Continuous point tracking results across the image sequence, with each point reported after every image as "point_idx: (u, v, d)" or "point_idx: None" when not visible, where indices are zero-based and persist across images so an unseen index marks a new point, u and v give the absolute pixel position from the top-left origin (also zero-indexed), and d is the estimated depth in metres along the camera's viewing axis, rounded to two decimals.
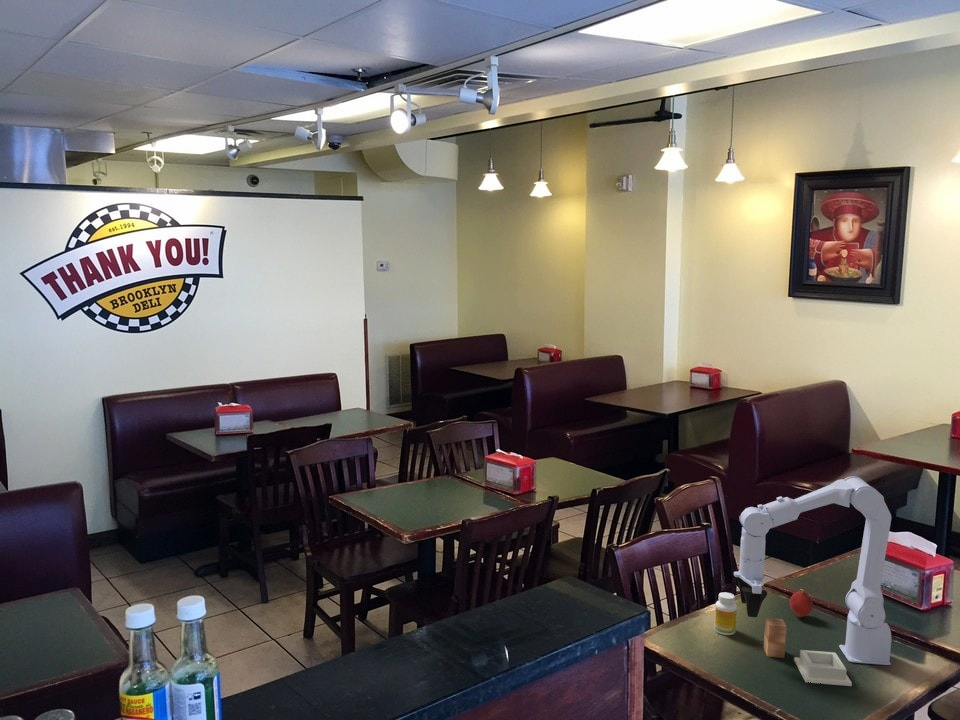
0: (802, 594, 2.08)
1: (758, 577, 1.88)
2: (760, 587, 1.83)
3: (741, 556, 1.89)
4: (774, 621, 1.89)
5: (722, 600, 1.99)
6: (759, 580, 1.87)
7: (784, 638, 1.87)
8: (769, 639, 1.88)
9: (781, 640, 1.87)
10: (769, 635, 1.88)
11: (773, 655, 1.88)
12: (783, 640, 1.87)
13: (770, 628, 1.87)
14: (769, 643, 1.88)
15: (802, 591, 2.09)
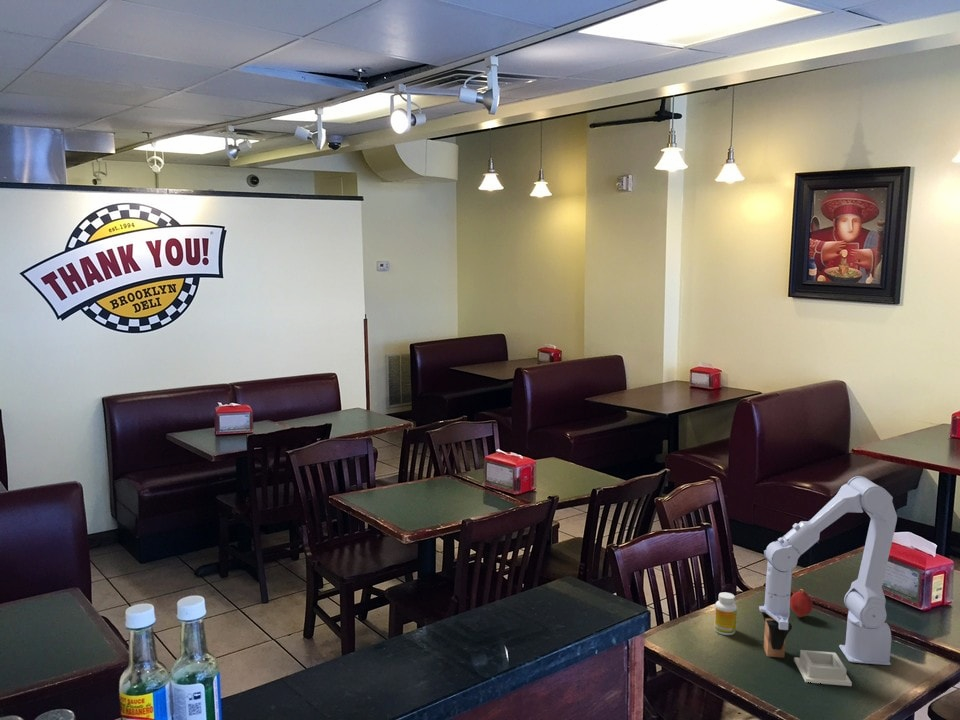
0: (802, 594, 2.08)
1: (784, 612, 1.86)
2: (787, 623, 1.81)
3: (767, 591, 1.87)
4: None
5: (722, 600, 1.99)
6: (785, 615, 1.86)
7: None
8: (769, 639, 1.88)
9: None
10: (769, 635, 1.88)
11: (773, 655, 1.88)
12: None
13: None
14: (769, 643, 1.88)
15: (802, 591, 2.09)
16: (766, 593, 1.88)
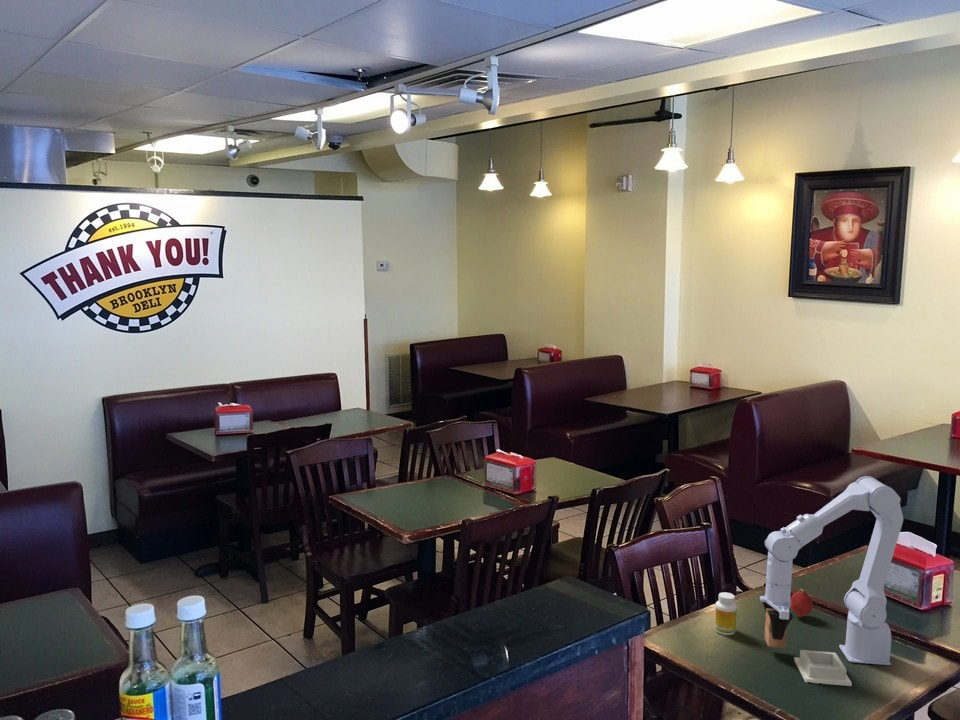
0: (802, 594, 2.08)
1: (785, 602, 1.86)
2: (788, 613, 1.81)
3: (768, 581, 1.87)
4: None
5: (722, 600, 1.99)
6: (786, 605, 1.85)
7: None
8: (770, 629, 1.87)
9: None
10: (770, 625, 1.87)
11: (774, 645, 1.88)
12: None
13: None
14: (770, 633, 1.88)
15: (802, 591, 2.09)
16: (767, 583, 1.88)
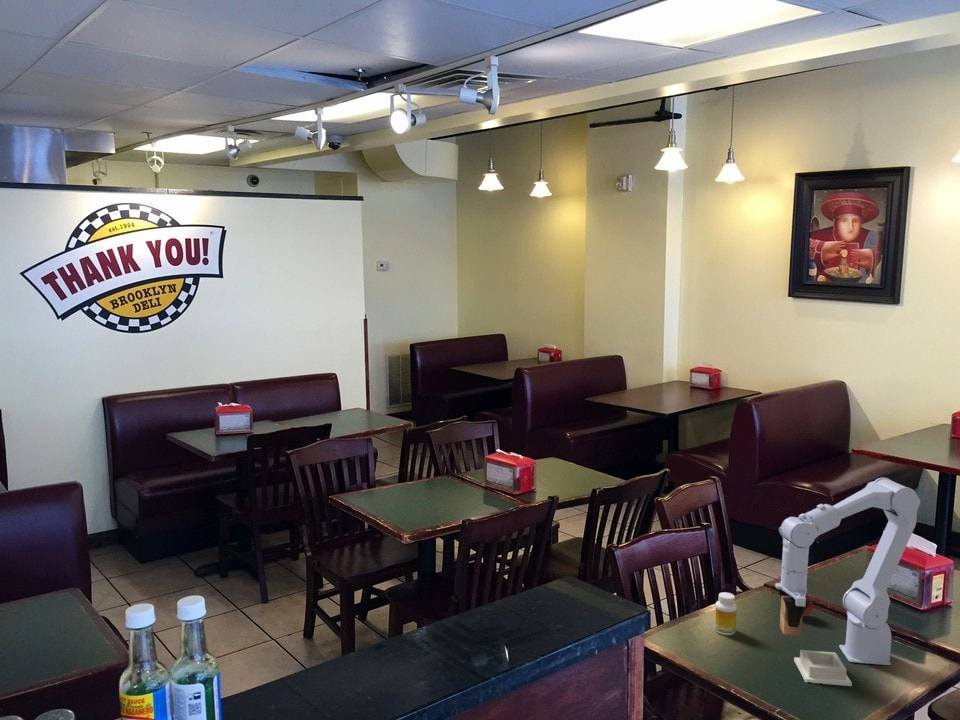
0: None
1: (801, 589, 1.82)
2: (804, 600, 1.78)
3: (785, 568, 1.83)
4: None
5: (722, 600, 1.99)
6: (802, 592, 1.82)
7: None
8: (785, 616, 1.84)
9: None
10: (785, 612, 1.84)
11: (789, 633, 1.84)
12: None
13: None
14: (785, 620, 1.84)
15: None
16: (782, 570, 1.84)
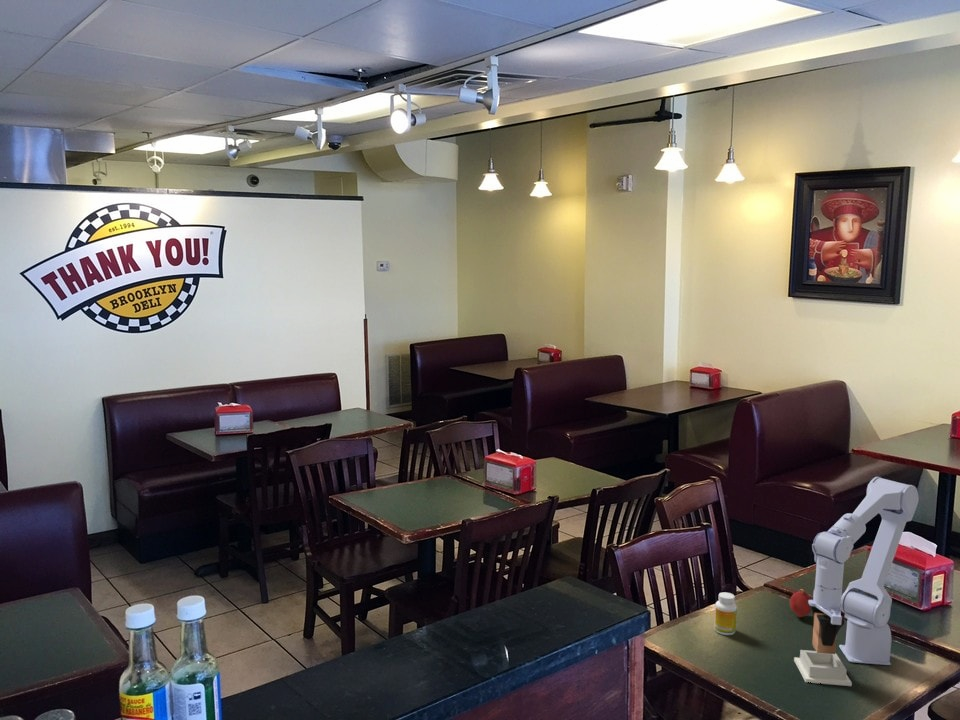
0: (802, 594, 2.08)
1: (836, 606, 1.76)
2: (840, 618, 1.72)
3: (824, 587, 1.76)
4: None
5: (722, 600, 1.99)
6: (837, 610, 1.76)
7: None
8: (819, 635, 1.78)
9: None
10: (819, 630, 1.78)
11: (823, 651, 1.78)
12: None
13: None
14: (819, 639, 1.78)
15: (802, 591, 2.09)
16: (816, 586, 1.78)
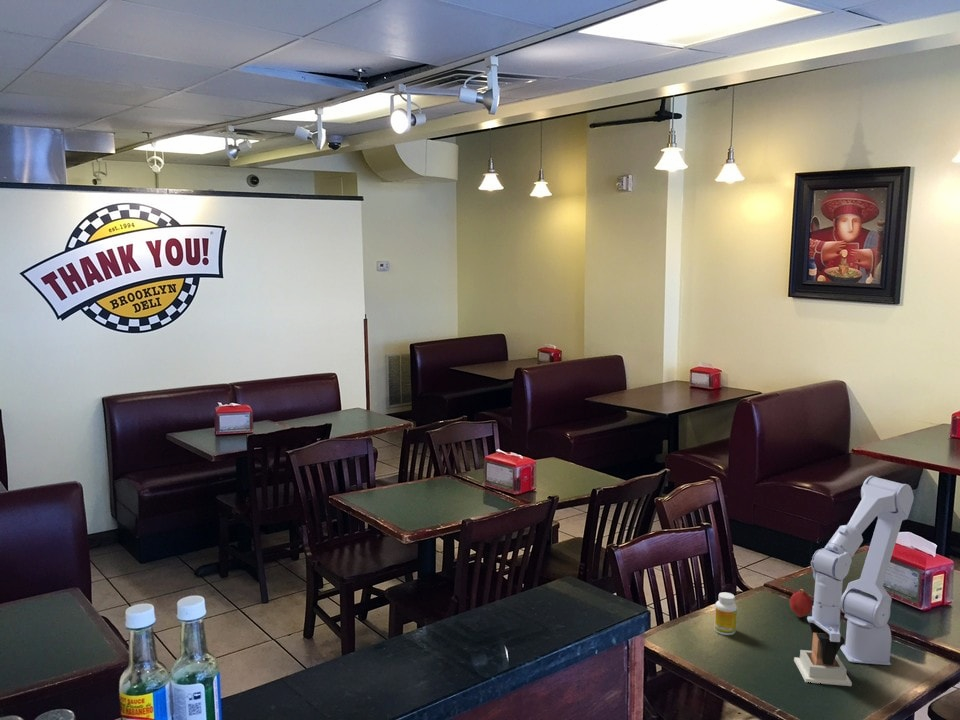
0: (802, 594, 2.08)
1: (834, 623, 1.77)
2: (839, 635, 1.72)
3: (823, 604, 1.77)
4: None
5: (722, 600, 1.99)
6: (836, 627, 1.76)
7: None
8: (818, 655, 1.79)
9: None
10: (818, 651, 1.79)
11: None
12: None
13: (819, 644, 1.78)
14: (818, 659, 1.79)
15: (802, 591, 2.09)
16: (815, 603, 1.79)
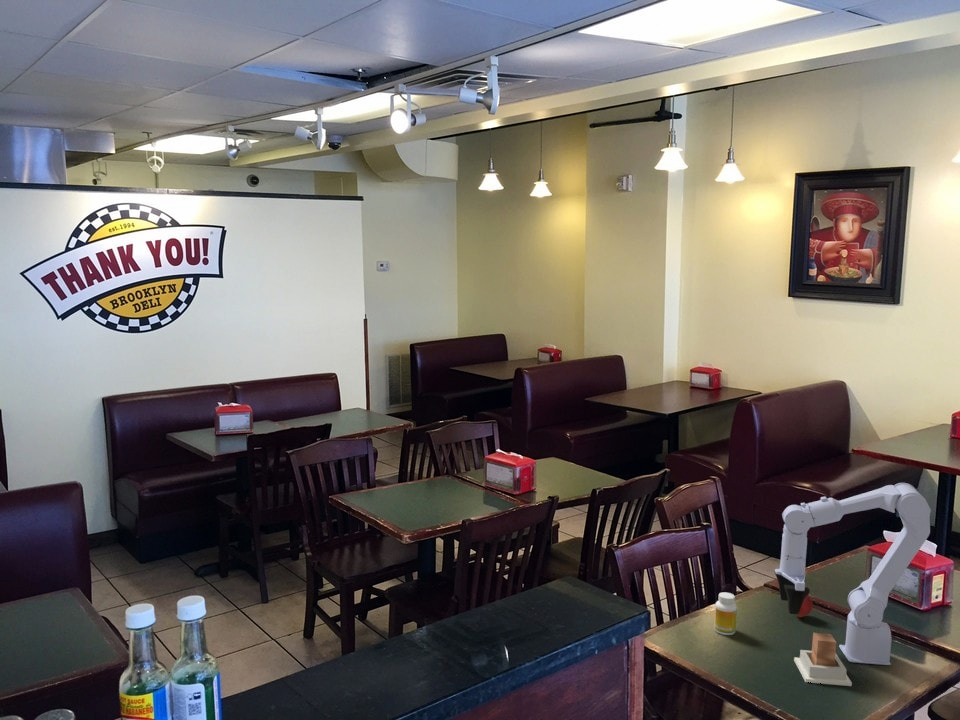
0: None
1: (800, 574, 1.89)
2: (803, 584, 1.84)
3: (782, 553, 1.91)
4: (822, 636, 1.80)
5: (722, 600, 1.99)
6: (801, 577, 1.89)
7: (834, 654, 1.78)
8: (818, 655, 1.79)
9: (830, 656, 1.78)
10: (818, 651, 1.79)
11: None
12: (832, 656, 1.78)
13: (819, 644, 1.78)
14: (818, 659, 1.79)
15: None
16: (782, 556, 1.91)
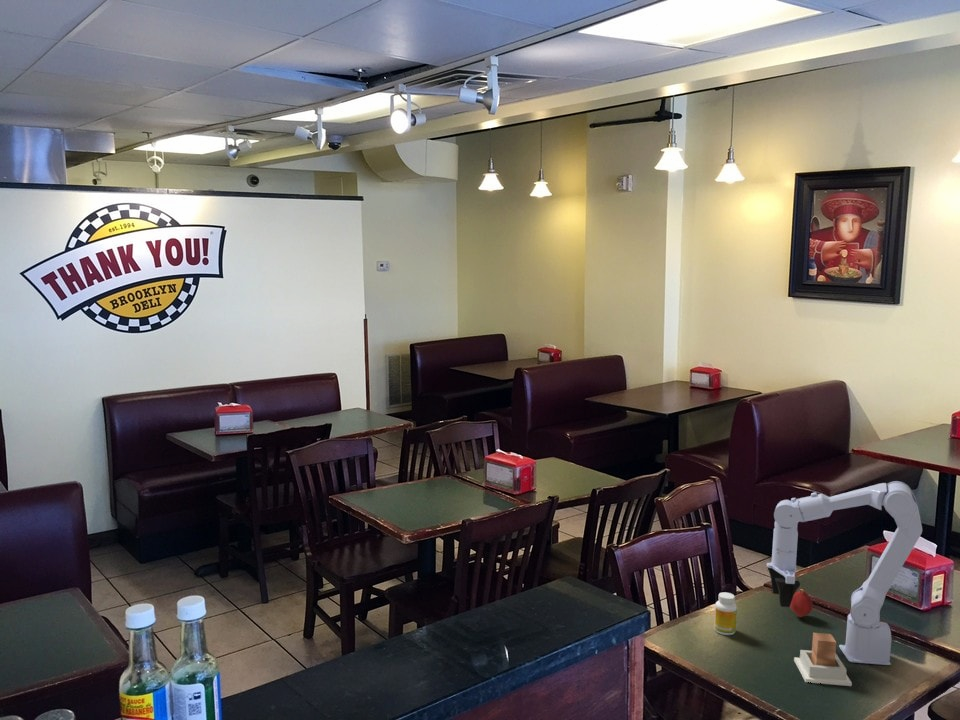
0: (802, 594, 2.08)
1: (791, 568, 1.92)
2: (793, 577, 1.88)
3: None
4: (822, 636, 1.80)
5: (722, 600, 1.99)
6: (792, 571, 1.92)
7: (834, 654, 1.78)
8: (818, 655, 1.79)
9: (830, 656, 1.78)
10: (818, 651, 1.79)
11: None
12: (832, 656, 1.78)
13: (819, 644, 1.78)
14: (818, 659, 1.79)
15: (802, 591, 2.09)
16: (773, 550, 1.95)
